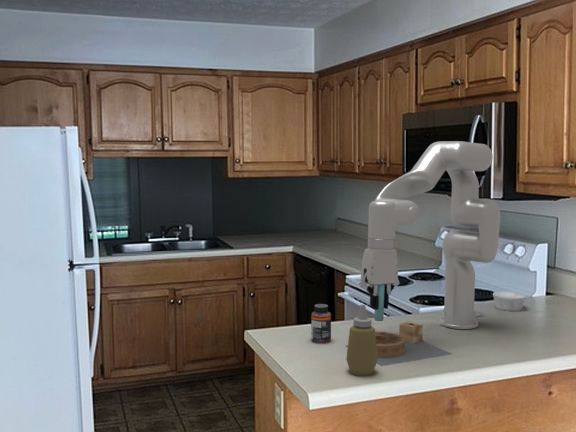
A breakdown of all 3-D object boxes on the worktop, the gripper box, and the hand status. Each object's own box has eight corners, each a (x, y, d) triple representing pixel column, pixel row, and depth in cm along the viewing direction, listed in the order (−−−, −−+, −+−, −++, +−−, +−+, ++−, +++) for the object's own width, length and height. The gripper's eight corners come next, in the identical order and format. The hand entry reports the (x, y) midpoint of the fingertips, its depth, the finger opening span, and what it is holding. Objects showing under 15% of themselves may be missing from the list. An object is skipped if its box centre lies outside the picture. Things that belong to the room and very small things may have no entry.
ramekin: (531, 311, 226) (531, 297, 226) (503, 313, 223) (504, 298, 223) (513, 304, 237) (513, 290, 236) (486, 305, 234) (487, 291, 234)
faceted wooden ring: (385, 340, 188) (386, 329, 188) (413, 353, 176) (414, 341, 175) (345, 346, 182) (346, 334, 182) (371, 360, 170) (372, 348, 169)
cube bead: (408, 336, 192) (408, 320, 192) (422, 340, 189) (422, 324, 188) (399, 340, 189) (399, 323, 188) (413, 343, 185) (413, 327, 185)
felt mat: (411, 337, 193) (411, 336, 193) (452, 355, 176) (452, 353, 176) (345, 347, 183) (345, 345, 183) (381, 367, 166) (381, 365, 166)
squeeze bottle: (355, 380, 156) (356, 310, 154) (340, 370, 164) (341, 303, 162) (383, 375, 159) (384, 307, 158) (367, 366, 167) (368, 300, 165)
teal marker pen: (380, 318, 179) (381, 270, 178) (385, 320, 177) (387, 272, 176) (372, 319, 178) (373, 271, 177) (377, 321, 176) (379, 272, 175)
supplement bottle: (320, 337, 192) (320, 301, 191) (335, 342, 188) (335, 305, 187) (307, 341, 188) (307, 305, 187) (321, 346, 184) (322, 308, 183)
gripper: (397, 241, 183) (395, 303, 184) (349, 243, 176) (347, 307, 177) (412, 245, 176) (410, 308, 178) (363, 247, 169) (361, 313, 171)
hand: (379, 307), depth 177 cm, fingers closed on teal marker pen, 2 cm apart
